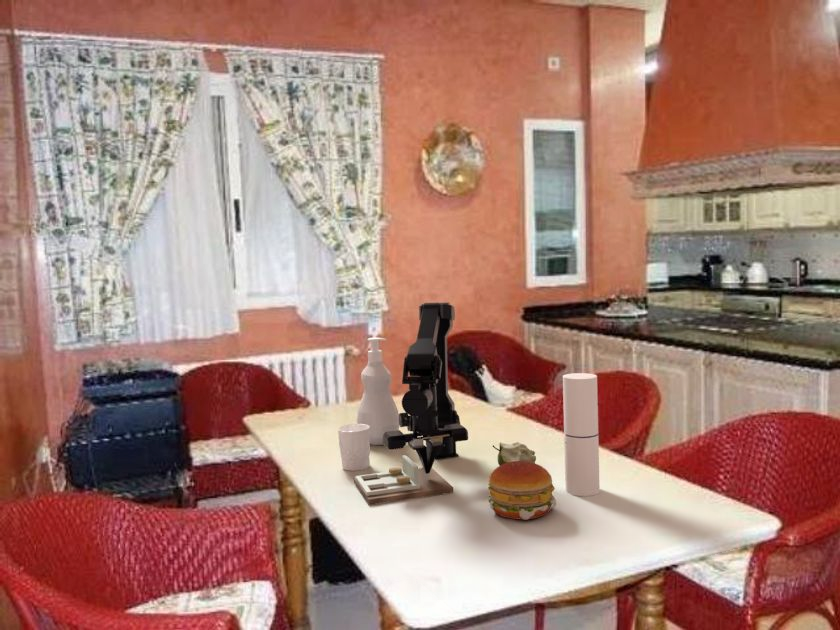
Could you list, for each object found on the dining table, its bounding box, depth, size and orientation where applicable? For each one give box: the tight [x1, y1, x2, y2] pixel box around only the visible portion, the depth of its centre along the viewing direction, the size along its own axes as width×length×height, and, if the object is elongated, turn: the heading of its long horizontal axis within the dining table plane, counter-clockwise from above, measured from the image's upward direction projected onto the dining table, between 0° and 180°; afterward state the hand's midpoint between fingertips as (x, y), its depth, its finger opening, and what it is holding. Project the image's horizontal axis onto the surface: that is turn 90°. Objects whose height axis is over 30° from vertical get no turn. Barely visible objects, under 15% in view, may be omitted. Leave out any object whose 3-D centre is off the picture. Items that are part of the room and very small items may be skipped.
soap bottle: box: [356, 337, 400, 446], centre depth 200 cm, size 17×12×29 cm
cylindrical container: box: [562, 372, 601, 497], centre depth 152 cm, size 7×7×25 cm
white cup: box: [337, 423, 371, 472], centre depth 177 cm, size 8×8×10 cm
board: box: [352, 466, 454, 506], centre depth 161 cm, size 19×16×3 cm
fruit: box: [492, 441, 537, 467], centre depth 169 cm, size 9×9×8 cm
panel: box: [355, 454, 420, 496], centre depth 159 cm, size 12×12×4 cm
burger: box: [487, 461, 557, 520], centre depth 143 cm, size 13×14×10 cm
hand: (427, 473), depth 162 cm, fingers closed
